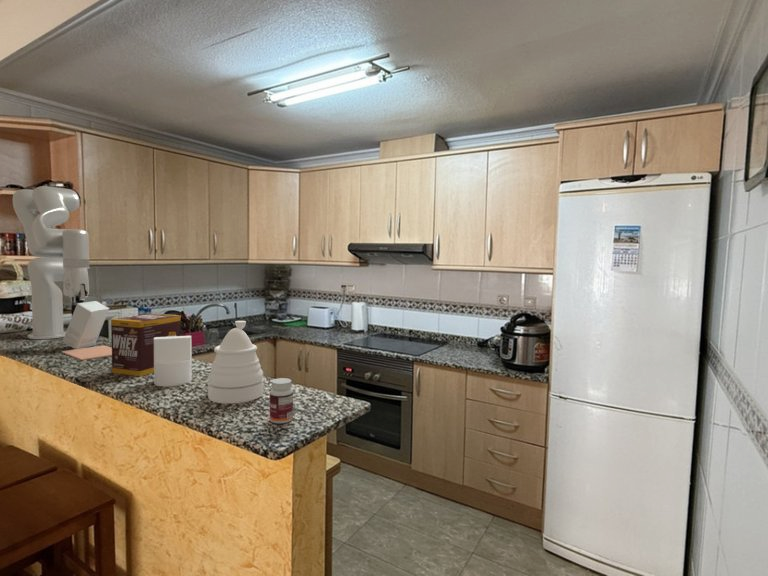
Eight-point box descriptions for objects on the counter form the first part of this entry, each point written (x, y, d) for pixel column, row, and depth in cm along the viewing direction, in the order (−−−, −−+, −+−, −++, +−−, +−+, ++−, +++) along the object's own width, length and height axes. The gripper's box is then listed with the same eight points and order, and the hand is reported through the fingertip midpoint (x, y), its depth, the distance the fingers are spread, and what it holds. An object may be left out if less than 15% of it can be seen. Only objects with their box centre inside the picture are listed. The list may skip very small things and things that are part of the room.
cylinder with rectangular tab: (191, 375, 118) (191, 333, 117) (191, 384, 109) (191, 339, 109) (155, 378, 114) (155, 335, 113) (152, 387, 106) (152, 341, 105)
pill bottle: (266, 417, 88) (267, 379, 87) (288, 414, 90) (288, 376, 90) (273, 425, 84) (273, 385, 83) (295, 421, 86) (296, 382, 86)
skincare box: (81, 337, 152) (96, 300, 150) (96, 346, 152) (111, 308, 150) (60, 342, 144) (76, 302, 142) (76, 350, 143) (91, 310, 141)
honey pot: (226, 384, 110) (226, 317, 109) (271, 388, 108) (272, 320, 106) (196, 400, 97) (196, 325, 96) (247, 405, 95) (247, 328, 94)
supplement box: (110, 373, 118) (109, 318, 117) (155, 361, 132) (154, 312, 131) (139, 377, 115) (138, 321, 114) (181, 364, 129) (181, 314, 128)
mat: (61, 352, 140) (61, 351, 140) (104, 346, 151) (104, 345, 151) (81, 360, 130) (81, 359, 130) (126, 353, 141) (126, 352, 141)
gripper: (55, 264, 147) (57, 315, 148) (72, 264, 139) (73, 318, 140) (80, 264, 153) (81, 313, 155) (97, 264, 145) (98, 316, 146)
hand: (77, 315), depth 147 cm, fingers closed
